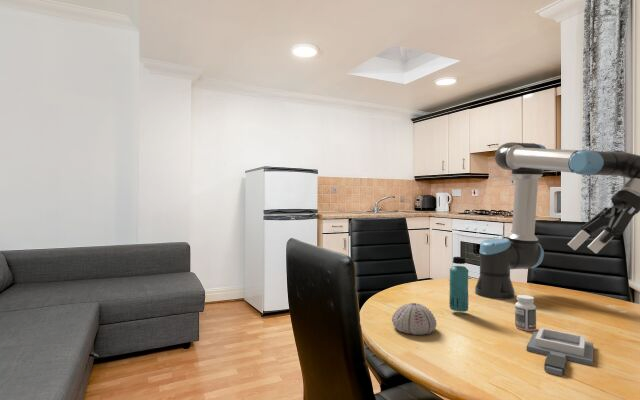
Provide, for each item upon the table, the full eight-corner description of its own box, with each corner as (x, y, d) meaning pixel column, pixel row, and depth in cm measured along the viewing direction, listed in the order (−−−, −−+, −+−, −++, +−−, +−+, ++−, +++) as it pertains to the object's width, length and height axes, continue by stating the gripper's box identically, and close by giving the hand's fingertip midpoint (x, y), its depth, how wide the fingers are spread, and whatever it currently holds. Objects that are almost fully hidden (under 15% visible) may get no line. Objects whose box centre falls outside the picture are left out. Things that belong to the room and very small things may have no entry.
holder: (519, 365, 87) (519, 352, 87) (534, 335, 107) (534, 324, 107) (591, 384, 78) (591, 369, 78) (593, 347, 98) (593, 335, 98)
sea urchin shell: (435, 340, 102) (435, 312, 102) (388, 334, 107) (388, 307, 107) (437, 325, 115) (437, 300, 115) (394, 320, 119) (395, 296, 119)
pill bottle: (533, 326, 114) (533, 295, 114) (538, 332, 109) (538, 300, 109) (513, 324, 116) (513, 293, 116) (516, 330, 111) (517, 298, 111)
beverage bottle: (469, 312, 129) (469, 256, 129) (468, 317, 123) (468, 259, 123) (449, 309, 131) (450, 254, 131) (448, 314, 125) (448, 257, 125)
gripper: (674, 202, 95) (614, 261, 97) (620, 207, 119) (573, 254, 121) (647, 184, 97) (589, 242, 99) (600, 192, 121) (554, 238, 123)
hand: (580, 248), depth 110 cm, fingers open, 13 cm apart
